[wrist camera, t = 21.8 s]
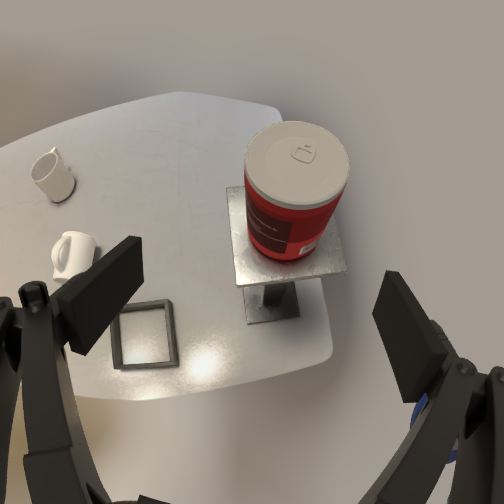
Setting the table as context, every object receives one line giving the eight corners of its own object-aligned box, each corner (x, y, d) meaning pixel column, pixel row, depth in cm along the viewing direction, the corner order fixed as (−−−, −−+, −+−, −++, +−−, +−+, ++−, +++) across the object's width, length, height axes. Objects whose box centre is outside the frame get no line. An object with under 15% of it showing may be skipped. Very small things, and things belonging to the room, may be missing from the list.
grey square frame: (171, 302, 58) (167, 298, 55) (179, 365, 54) (175, 365, 51) (115, 309, 57) (109, 306, 55) (119, 369, 53) (113, 369, 50)
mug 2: (102, 246, 63) (77, 222, 52) (94, 290, 59) (65, 273, 48) (74, 245, 63) (47, 223, 52) (65, 287, 59) (35, 270, 48)
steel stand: (302, 319, 57) (348, 270, 29) (245, 327, 56) (236, 285, 28) (292, 265, 61) (323, 178, 33) (238, 272, 60) (225, 187, 33)
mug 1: (73, 200, 67) (52, 177, 57) (48, 206, 67) (26, 184, 57) (81, 164, 72) (64, 139, 61) (57, 170, 72) (38, 147, 61)
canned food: (325, 200, 32) (352, 130, 22) (316, 270, 29) (348, 216, 19) (255, 187, 32) (256, 112, 22) (238, 254, 30) (231, 193, 19)
